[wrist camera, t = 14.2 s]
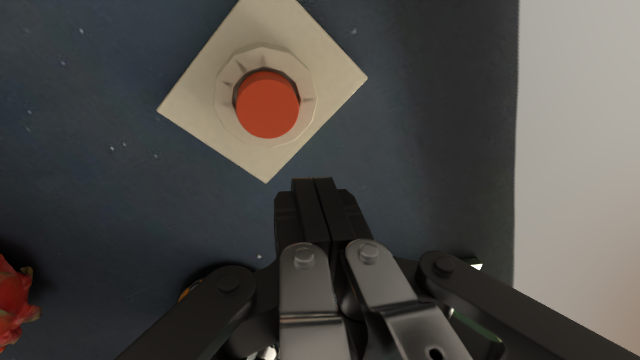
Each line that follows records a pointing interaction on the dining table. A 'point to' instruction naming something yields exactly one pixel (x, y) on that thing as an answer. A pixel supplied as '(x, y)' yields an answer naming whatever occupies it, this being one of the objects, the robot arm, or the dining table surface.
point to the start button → (267, 105)
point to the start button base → (254, 56)
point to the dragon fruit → (14, 302)
